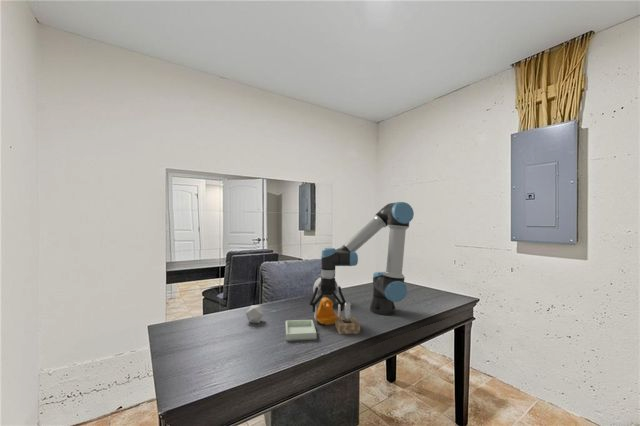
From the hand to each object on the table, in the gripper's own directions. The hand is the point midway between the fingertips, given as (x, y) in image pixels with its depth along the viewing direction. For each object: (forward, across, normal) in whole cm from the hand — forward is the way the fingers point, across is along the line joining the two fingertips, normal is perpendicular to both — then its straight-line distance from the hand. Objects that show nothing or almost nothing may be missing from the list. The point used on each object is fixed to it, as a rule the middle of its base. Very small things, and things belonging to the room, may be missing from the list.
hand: (327, 317), depth 146 cm
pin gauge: (+2, -8, +11) cm, 14 cm away
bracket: (+2, 0, 0) cm, 2 cm away
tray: (+2, +15, +12) cm, 20 cm away
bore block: (+2, -8, +11) cm, 14 cm away
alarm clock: (+2, -4, -31) cm, 31 cm away
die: (+2, +38, -4) cm, 38 cm away
